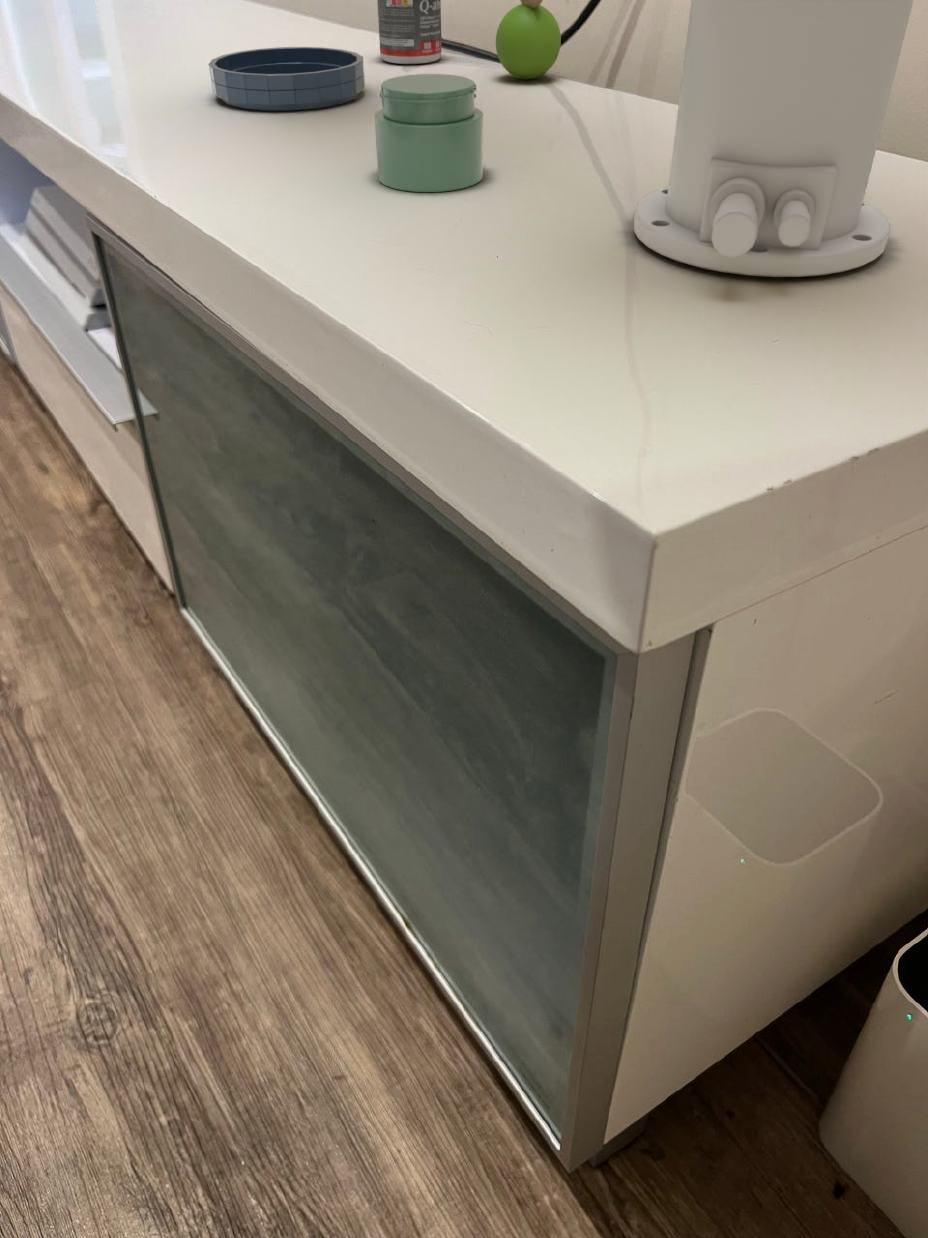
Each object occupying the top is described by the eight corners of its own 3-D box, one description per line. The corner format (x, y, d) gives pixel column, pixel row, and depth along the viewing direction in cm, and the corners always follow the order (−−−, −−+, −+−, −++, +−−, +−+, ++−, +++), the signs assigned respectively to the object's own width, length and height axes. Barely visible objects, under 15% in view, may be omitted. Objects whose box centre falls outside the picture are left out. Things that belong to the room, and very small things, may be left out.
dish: (334, 115, 70) (331, 77, 69) (188, 108, 73) (181, 71, 71) (384, 83, 79) (382, 49, 78) (252, 77, 82) (248, 44, 80)
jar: (468, 195, 55) (468, 96, 52) (364, 188, 56) (357, 91, 53) (493, 165, 60) (494, 74, 56) (396, 160, 61) (391, 69, 58)
